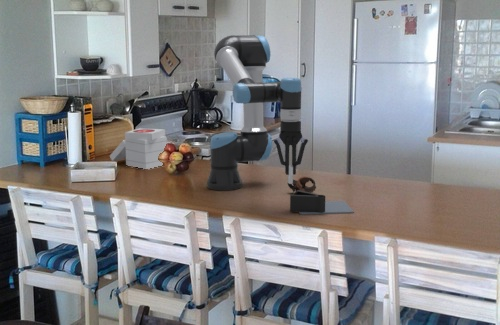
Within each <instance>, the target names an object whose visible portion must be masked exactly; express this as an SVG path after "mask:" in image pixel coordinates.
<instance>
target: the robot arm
mask: <svg viewBox="0 0 500 325" xmlns="http://www.w3.org/2000/svg"><path fill="white" fill-rule="evenodd" d="M213 52H214V53H213V57H214V59H215V62H216V64H217V65H218V66H219V67H220V68H223V70H224V72H225V74H226V76H227V78H228V79H229V81H230V82H231V84H232V86H233V87H232V98H233V101H234V102H235V103H236V104H243V106H242V107H243V128H241V130H240V134H238V133H237V132H235V131H230V132H229V131H227V132H220V133H216V134H214V135H213V136H211V137H210V138H211V139H210V145H209V149H210V171H209V174H208V178H207V181H206V186H207V187H206V188H208V189H210V190H214V191H232V190H233V191H234V190H237V189H241V188H242V186H243V181H242V178H241V176H240V175H241V174H240V172H239V170H238V169H239V168H238V165H239V164H238V163H243V162H244V163H245V162H246V163H247V162H260V161H266V160H267V159H269V158H270V155H271V154H272V150H273V143H274V144H275V146H276V149H277V155H278V158H279V162H280V165H281V166H285V168H284V172H285V175H286V176H287V183H289V184H292V185H293V179H294V176H295V175H297V166H298V165H301V164H302V159H303V156H304V151H305V148H306V145H307V144H308V143H309V140H308V138H305V137H304V136H303V134H302V122H301V119H302V89H303V87H302V81H301V78H298V77H283V78H281V80H280V81H273V82H272V81H271V82H266V81H265V82H263V71H264V69H266V67H267V66H266V64H267V63H269V62H270V60H271V46H270V44H269V41H268V39H267V37H266V36H264V35H258V34H257V35H256V34H252V35H250V34H248V35H244V34H242V35H227V36H226V37H223V38H222V39H220V40H219V41H218V42H217V44H216V45H215V48H214V51H213ZM264 103H280V132H279V134H278V137H276V138H273V139H272V135H271V134H270V133H268V129H267V128H266V127H265V126H264ZM281 142H282V143H283V145H284V153H285V154H284V157H283V153H282V147H281V145H280V144H281ZM299 142H300V143H301V144H300V146H299V151H298V156H297V145H298V144H299ZM290 146H291V164H290Z"/></svg>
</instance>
